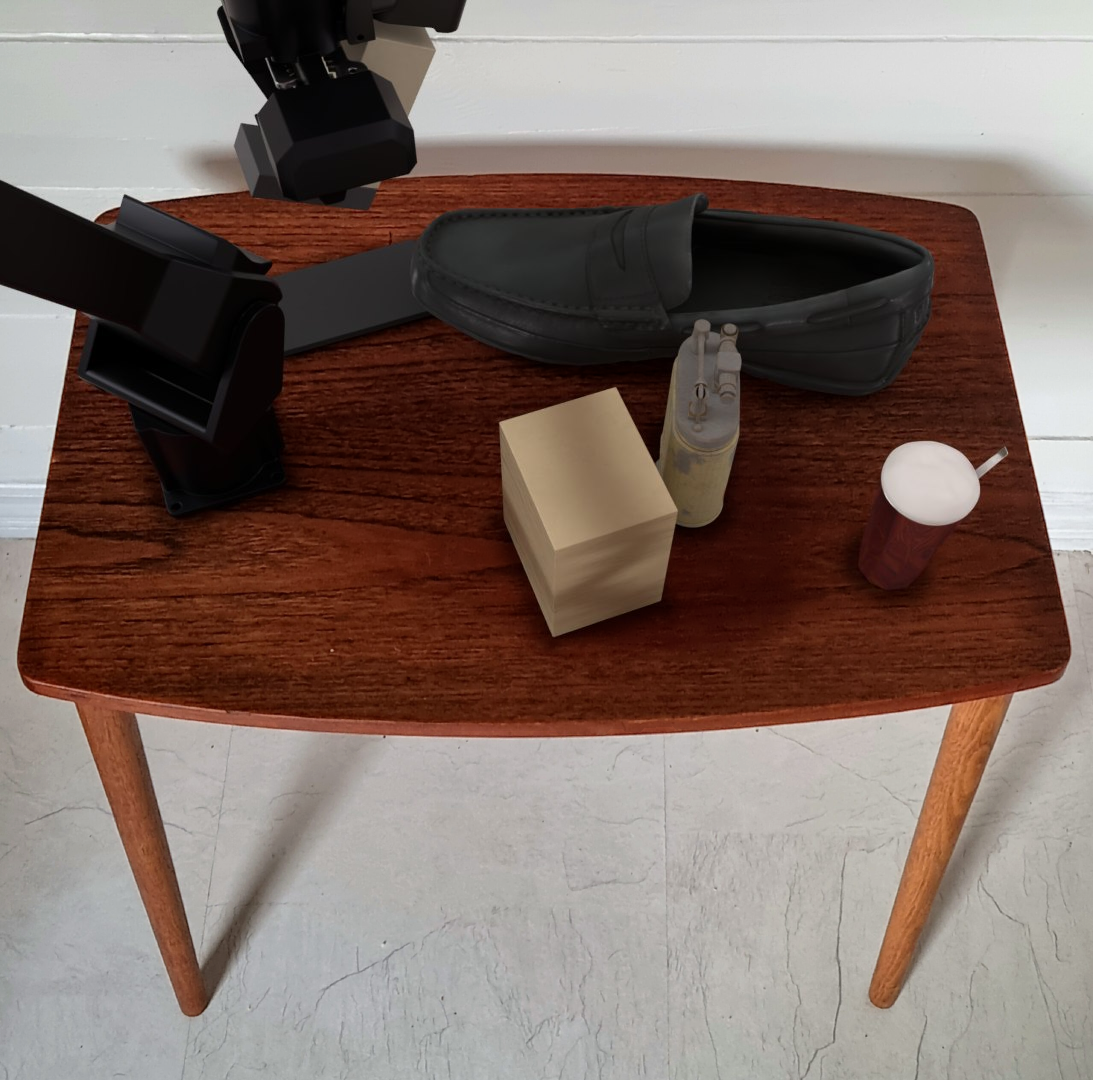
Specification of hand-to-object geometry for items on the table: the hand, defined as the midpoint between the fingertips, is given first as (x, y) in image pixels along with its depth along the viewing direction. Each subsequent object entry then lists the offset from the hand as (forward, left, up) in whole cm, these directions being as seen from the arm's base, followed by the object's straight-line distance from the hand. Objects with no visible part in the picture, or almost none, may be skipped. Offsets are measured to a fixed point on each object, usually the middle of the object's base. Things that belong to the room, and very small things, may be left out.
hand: (323, 173), depth 64 cm
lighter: (+14, -18, -10) cm, 25 cm away
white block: (-1, 0, 0) cm, 1 cm away
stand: (+7, -21, -10) cm, 25 cm away
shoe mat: (-1, 0, -10) cm, 10 cm away
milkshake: (+22, -27, -10) cm, 37 cm away
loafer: (+17, -8, -10) cm, 21 cm away
